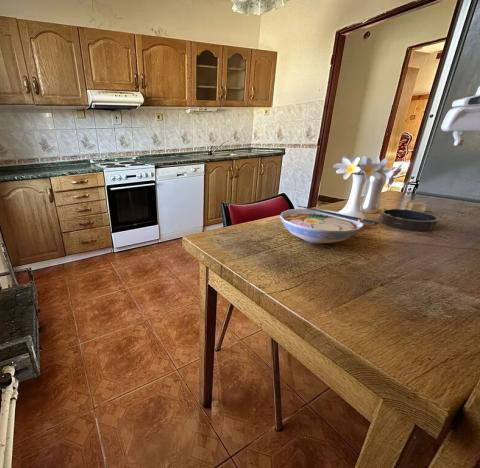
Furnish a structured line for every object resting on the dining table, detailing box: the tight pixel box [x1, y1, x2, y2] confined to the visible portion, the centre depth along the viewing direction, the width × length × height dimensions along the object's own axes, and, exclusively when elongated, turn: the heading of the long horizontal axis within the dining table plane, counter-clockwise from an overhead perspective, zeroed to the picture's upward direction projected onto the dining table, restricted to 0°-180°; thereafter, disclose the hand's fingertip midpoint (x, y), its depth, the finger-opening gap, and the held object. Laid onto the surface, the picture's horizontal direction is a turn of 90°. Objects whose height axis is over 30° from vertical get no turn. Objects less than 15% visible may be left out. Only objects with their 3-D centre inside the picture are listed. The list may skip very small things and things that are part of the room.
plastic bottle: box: [360, 165, 387, 214], centre depth 105 cm, size 6×7×20 cm
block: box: [404, 201, 428, 213], centre depth 104 cm, size 4×4×4 cm
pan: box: [378, 208, 440, 232], centre depth 93 cm, size 16×16×4 cm
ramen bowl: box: [279, 205, 380, 245], centre depth 82 cm, size 25×23×8 cm
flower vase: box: [332, 154, 403, 225], centre depth 88 cm, size 13×18×25 cm
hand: (476, 145), depth 85 cm, fingers open, 8 cm apart
